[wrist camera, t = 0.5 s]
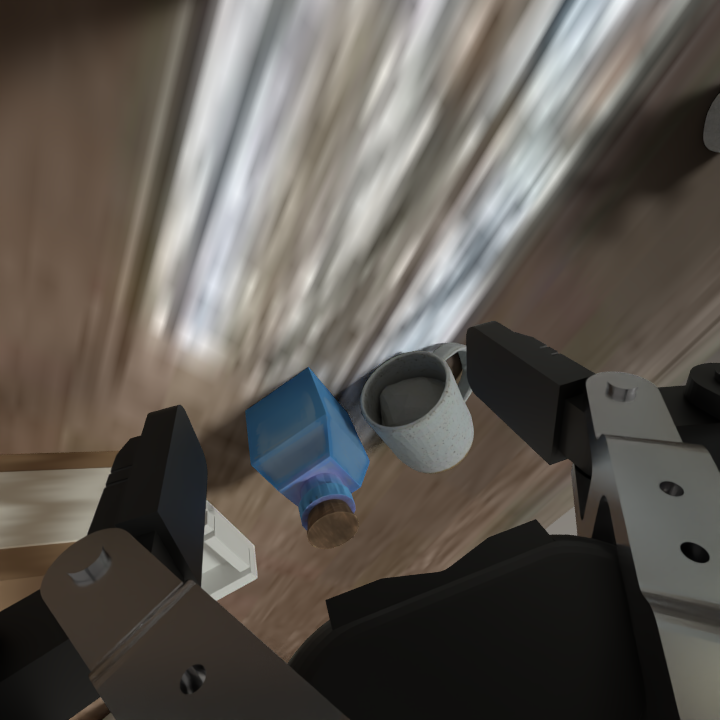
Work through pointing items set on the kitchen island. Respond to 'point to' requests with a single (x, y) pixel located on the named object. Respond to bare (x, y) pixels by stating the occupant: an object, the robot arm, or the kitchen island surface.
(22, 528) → the oak frame
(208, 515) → the frame
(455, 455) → the ceramic mug
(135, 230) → the kitchen island surface
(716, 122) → the house plant
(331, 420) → the perfume bottle
